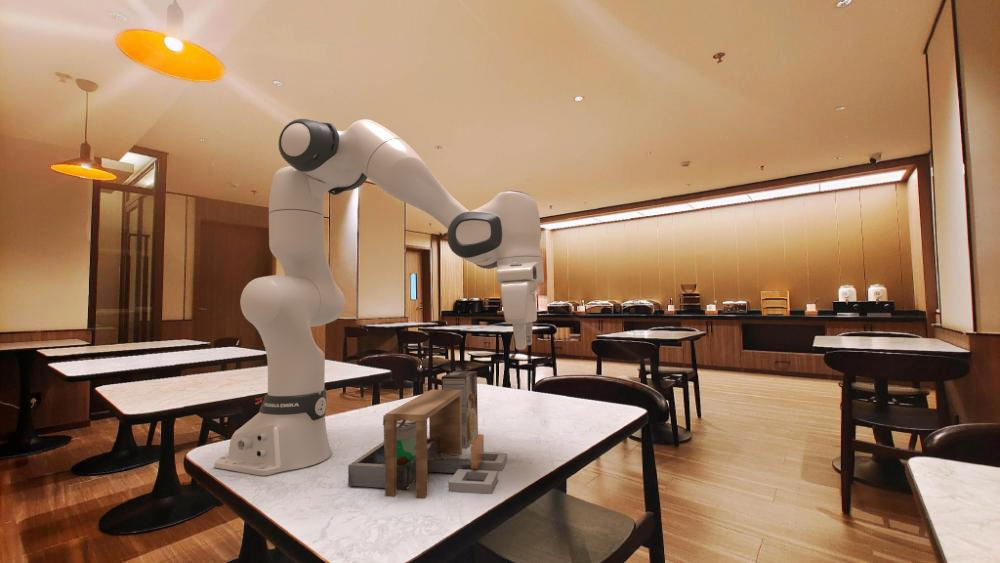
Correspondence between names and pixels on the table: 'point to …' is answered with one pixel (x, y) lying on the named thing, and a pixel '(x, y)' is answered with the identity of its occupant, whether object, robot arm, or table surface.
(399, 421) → the food container
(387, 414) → the brown wooden bench
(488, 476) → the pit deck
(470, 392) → the coffee box
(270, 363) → the robot arm
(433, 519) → the table surface
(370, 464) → the shallow grey tray
